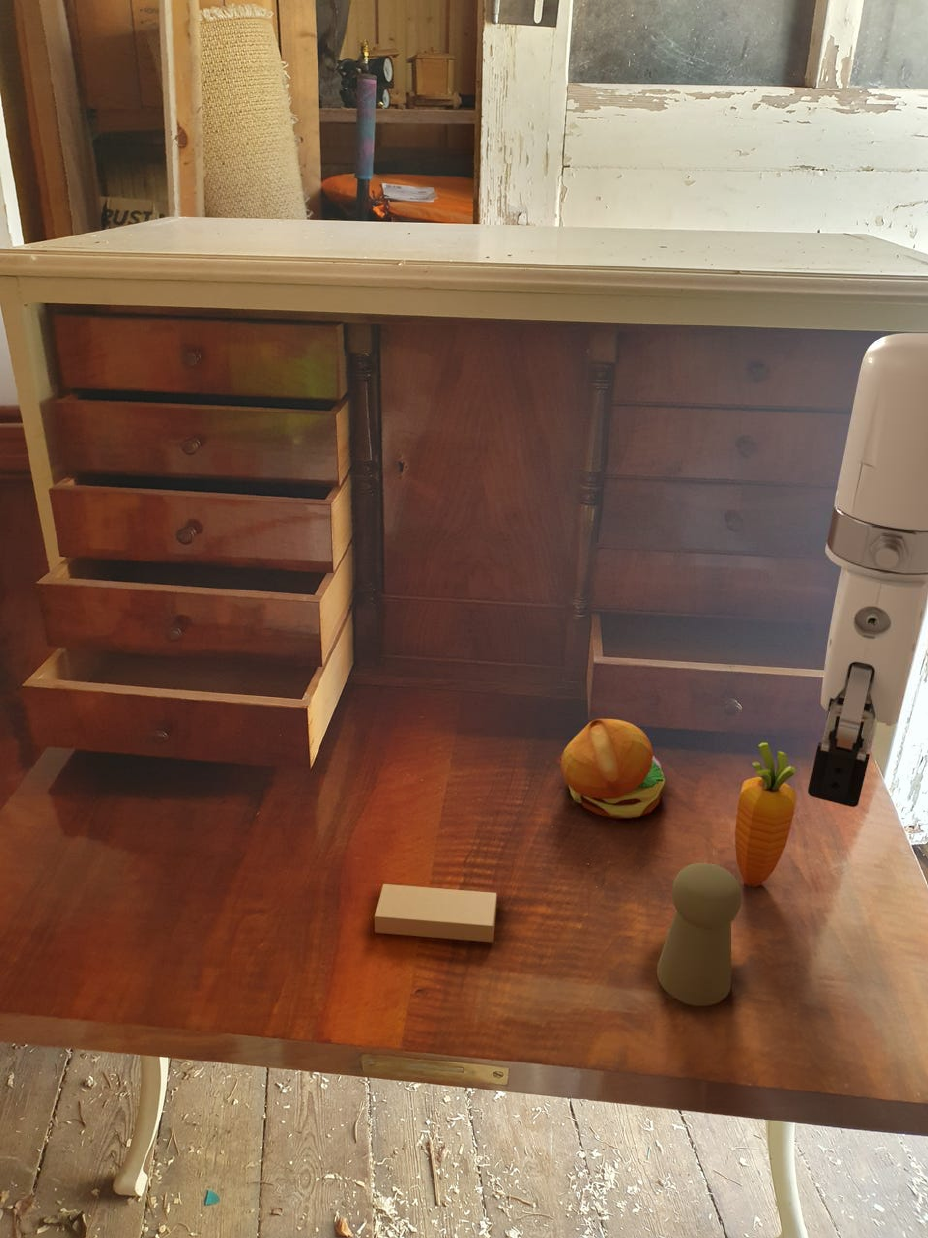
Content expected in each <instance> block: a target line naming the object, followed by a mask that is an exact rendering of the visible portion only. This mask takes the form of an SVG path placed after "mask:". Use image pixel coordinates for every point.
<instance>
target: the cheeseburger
mask: <svg viewBox="0 0 928 1238" xmlns="http://www.w3.org/2000/svg"><path fill="white" fill-rule="evenodd" d="M557 763H559V764H560V774H561V776H562V778H563V779H564V781H565V783H566V785H567V786H568V788H569V790H570V795H571V797H572V798H573V800H574V801H575V802H576V803H578V804H580V805H581V806H583V808H584V809H586V810H588V811H590V812H592V813H595V814H596V815H599V816H602V817H608V818H612V819H617V820H623V819H636V818H639V817H642V816H644V815H645V816H646V815H647V814H650V813H651V812H652V811H654V809H655V808H656V807H657V806H658V805H659V804H660V801H661V796H662V792H663V787H664V786H665V783H666V778H665V774H664V773H663V769H662V765H661V762H660V761H659V760H658V759H657V758H656V757H655V756H654V753H653V747H652V743H651V741H650V739H649V738H648V736H647V735H646V733H645V732H644V731H643V730H642V729H640V728H639V727H638V726H636V725H635V724H633V723H631V722H628V721H625V720H621V719H616V718H615V719H614V718H596V719H593V720H592V721H590V722H588V723H587V724H586V725H585V727H584V728H582V729H581V730H580V731H579V733H578V734H577V735H575V737H574V738H573V739H572V740H571V741H569V743H568V744H567V746H566V747H565V748H564V750H563V752H562V754H561V755H559V756H558V757H557Z"/></svg>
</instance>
